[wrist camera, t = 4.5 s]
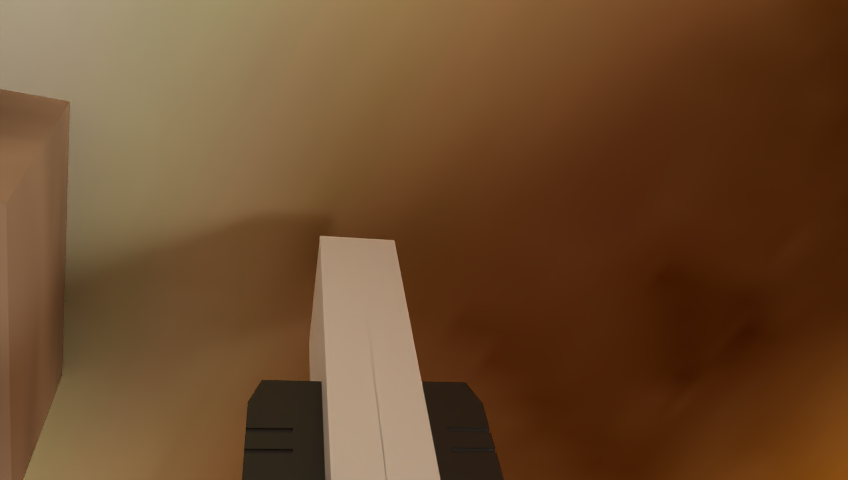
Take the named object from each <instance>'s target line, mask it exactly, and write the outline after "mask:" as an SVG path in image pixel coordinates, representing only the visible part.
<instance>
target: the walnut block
mask: <svg viewBox="0 0 848 480" xmlns="http://www.w3.org/2000/svg"><path fill="white" fill-rule="evenodd" d="M69 113H70V102H68V101H63V100H57V99H52V98H46V97H40V96H35V95H29V94H24V93H18V92H13V91H7V90H2V89H0V480H23V478H24V475H25V473H26V470H27V467H28V465H29V462H30V459H31V457H32V454H33V451H34V449H35V446H36V443H37V441H38V438H39V435H40V433H41V430H42V427H43V424H44V422H45V419H46V416H47V414H48V411H49V408H50V406H51V403H52V400H53V398H54V395H55V392H56V390H57V387H58V384H59V382H60V379H61V376H62V357H63V322H64V288H65V253H66V218H67V183H68V148H69Z"/></svg>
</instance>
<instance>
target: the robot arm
mask: <svg viewBox="0 0 848 480" xmlns="http://www.w3.org/2000/svg"><path fill="white" fill-rule="evenodd" d="M309 356H310V381H281V380H262V381H261V383H260V384H259V386H258V387H257V389H256V390H255V392H254V394H253V395H252V397H251V398H250V400H249V401H248V407H247V421H246V435H245V448H244V462H243V476H242V480H504V479H503V476H502V472H501V468H500V465H499V461H498V458H497V454H496V453H495V447H494V443H493V439H492V436H491V433H489V425H488V421H487V418H486V414H485V411H484V407H483V404H482V402H481V401H480V400H479V399H478V397H477V396H476V395H475V394H474V393H473V391H472V390H471V389H470V388H469V386H468V385H467V384H466V383H464V382H422V381H421V376H420V371H419V365H418V360H417V355H416V350H415V345H414V339H413V334H412V329H411V324H410V319H409V313H408V308H407V303H406V298H405V293H404V287H403V282H402V277H401V272H400V267H399V261H398V256H397V251H396V246H395V240H383V239H366V238H349V237H332V236H320V240H319V250H318V260H317V270H316V280H315V289H314V299H313V309H312V319H311V328H310V338H309Z"/></svg>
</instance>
